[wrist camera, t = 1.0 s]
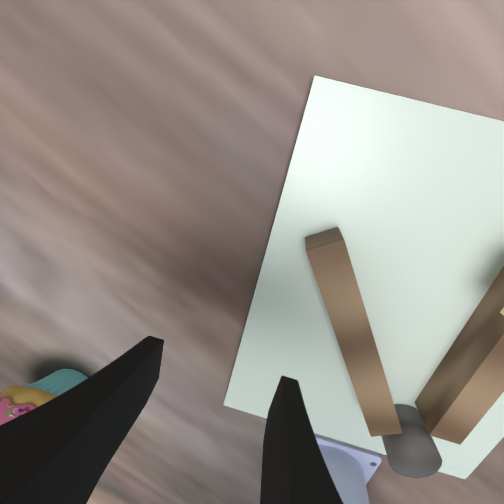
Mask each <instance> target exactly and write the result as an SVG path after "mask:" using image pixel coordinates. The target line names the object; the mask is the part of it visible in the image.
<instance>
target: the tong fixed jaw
mask: <svg viewBox="0 0 504 504" xmlns="http://www.w3.org/2000/svg"><path fill="white" fill-rule="evenodd" d="M503 307H504V266H503V268H502V269H501V271H500V272H499V274H498V275H497V277H496V278H495V280H494V281H493V283H492V284H491V286H490V288H489V289H488V291H487V292H486V294H485V295H484V297H483V298H482V300H481V301H480V303H479V304H478V306H477V307H476V309H475V310H474V312H473V313H472V315H471V317H470V318H469V320H468V321H467V323H466V324H465V326H464V327H463V329H462V330H461V332H460V333H459V335H458V336H457V338H456V339H455V341H454V342H453V344H452V345H451V347H450V349H449V350H448V352H447V353H446V355H445V356H444V358H443V359H442V361H441V362H440V364H439V365H438V367H437V368H436V370H435V371H434V373H433V374H432V376H431V377H430V379H429V381H428V382H427V384H426V385H425V387H424V388H423V390H422V391H421V393H420V394H419V396H418V397H417V399H416V400H415V402H414V403H415V405H416V407H417V409H416V408H415V407H413V406H410V405H406V404H394V406H395V410H396V413H397V416H398V420H399V423H400V426H401V429H402V433H400V434H391V435H383V436H381V437H382V440H383V444H384V447H385V451H386V454H387V458H388V461H389V465H390V467H391V468H392V469H393V470H394V471H395V472H397V473H398V474H400V475H403V476H406V477H412V478H421V477H426V476H430V475H432V474H434V473H436V472H437V471H438V470H439V469H440V467H441V465H442V458H441V456H440V454H439V451H438V449H437V447H436V445H435V443H434V440H433V438H432V436H433V437H436V438H439V439H443V440H446V441H449V442H453V443H456V444H459V445H461V443H462V442H463V441H464V440H465V439H466V437H467V436H468V435H469V434H470V432H471V431H472V430H473V429H474V428H475V426H476V425H477V424H478V423H479V421H480V420H481V419H482V418H483V417H484V415H485V414H486V413H487V412H488V410H489V409H490V408H491V407H492V406H493V404H494V403H495V402H496V401H497V399H498V398H499V397H500V396H501V395H502V393H503V392H504V316H503V315H502V314H501V313H500V312H501V310H502V309H503Z"/></svg>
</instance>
